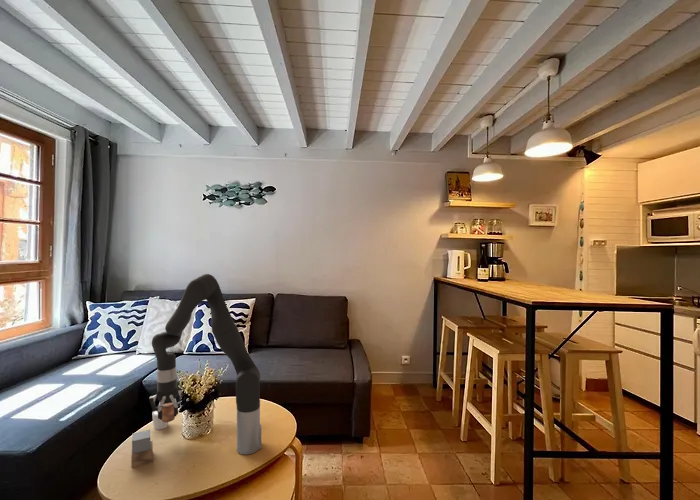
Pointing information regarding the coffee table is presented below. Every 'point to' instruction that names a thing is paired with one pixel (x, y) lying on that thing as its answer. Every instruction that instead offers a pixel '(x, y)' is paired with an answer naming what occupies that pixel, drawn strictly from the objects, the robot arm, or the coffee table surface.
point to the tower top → (141, 441)
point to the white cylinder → (158, 421)
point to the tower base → (142, 457)
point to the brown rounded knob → (168, 412)
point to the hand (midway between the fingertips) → (168, 417)
